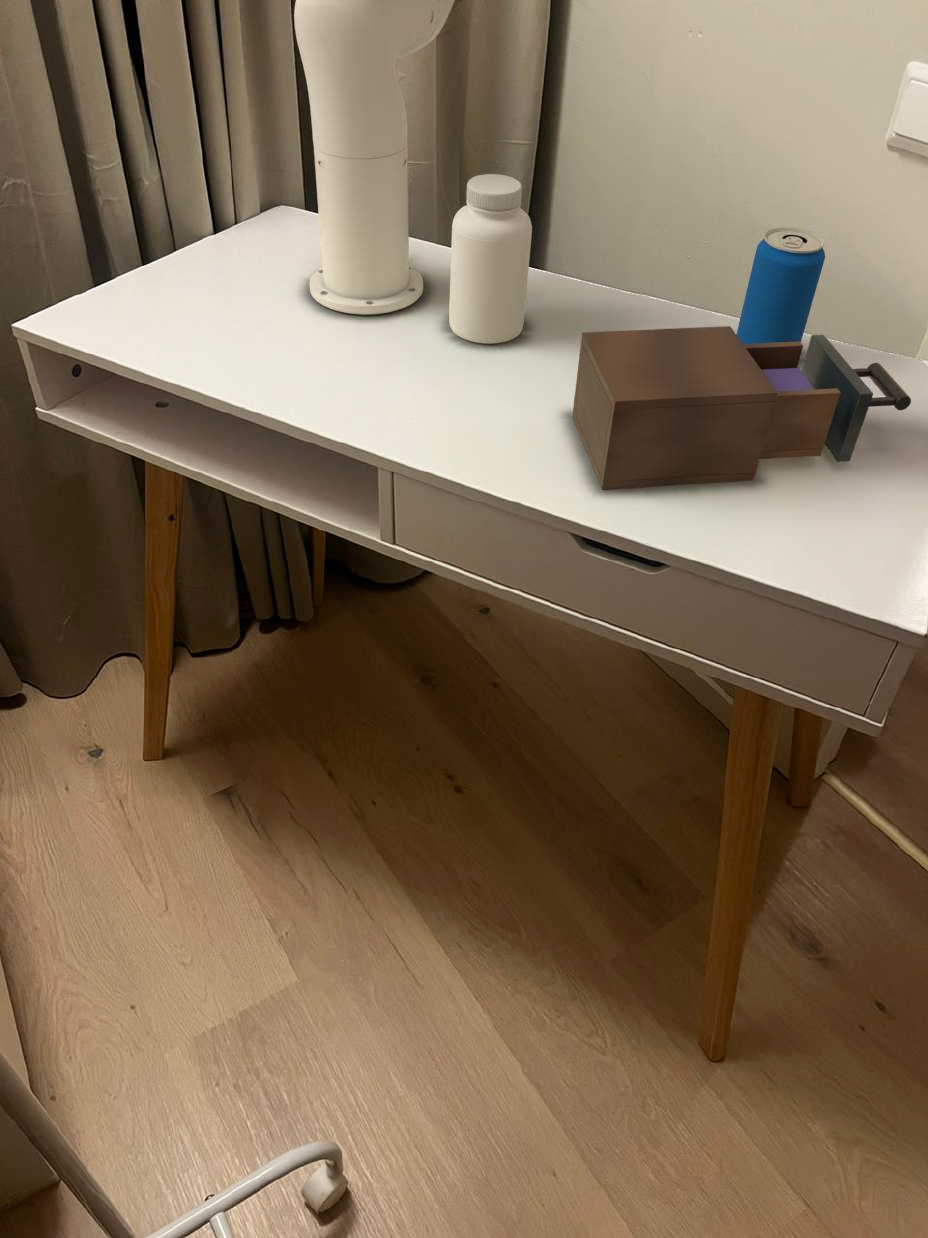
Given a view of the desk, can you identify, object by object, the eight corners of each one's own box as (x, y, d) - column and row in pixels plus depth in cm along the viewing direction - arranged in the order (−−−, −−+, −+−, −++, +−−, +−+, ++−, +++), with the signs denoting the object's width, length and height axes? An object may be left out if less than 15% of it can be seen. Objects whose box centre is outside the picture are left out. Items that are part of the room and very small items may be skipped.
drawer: (856, 397, 95) (878, 331, 91) (906, 458, 88) (933, 390, 83) (678, 406, 93) (691, 339, 88) (713, 470, 86) (730, 400, 81)
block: (743, 410, 91) (753, 369, 88) (786, 408, 91) (798, 367, 88) (759, 436, 88) (770, 394, 85) (804, 433, 88) (817, 391, 85)
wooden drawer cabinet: (711, 409, 95) (730, 325, 89) (753, 480, 86) (778, 392, 80) (571, 417, 93) (581, 331, 87) (601, 489, 85) (615, 401, 79)
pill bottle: (517, 350, 102) (528, 202, 92) (441, 340, 103) (443, 192, 93) (529, 315, 108) (541, 172, 97) (457, 306, 109) (461, 164, 98)
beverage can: (801, 346, 104) (834, 233, 96) (789, 374, 100) (822, 258, 92) (741, 333, 106) (767, 220, 98) (726, 359, 102) (753, 244, 94)
